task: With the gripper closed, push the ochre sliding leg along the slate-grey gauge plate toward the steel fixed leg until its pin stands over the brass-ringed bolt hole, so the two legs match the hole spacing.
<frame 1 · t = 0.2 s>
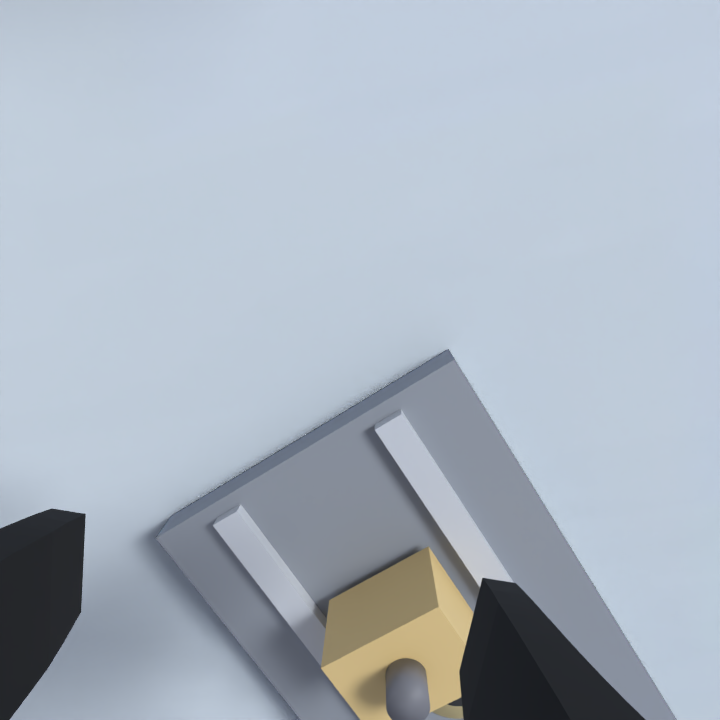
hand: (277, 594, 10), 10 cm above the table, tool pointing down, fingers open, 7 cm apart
slider: (404, 650, 17), point 4 cm above the table, slide at 0.0 cm
gauge plate: (439, 630, 21), on the table
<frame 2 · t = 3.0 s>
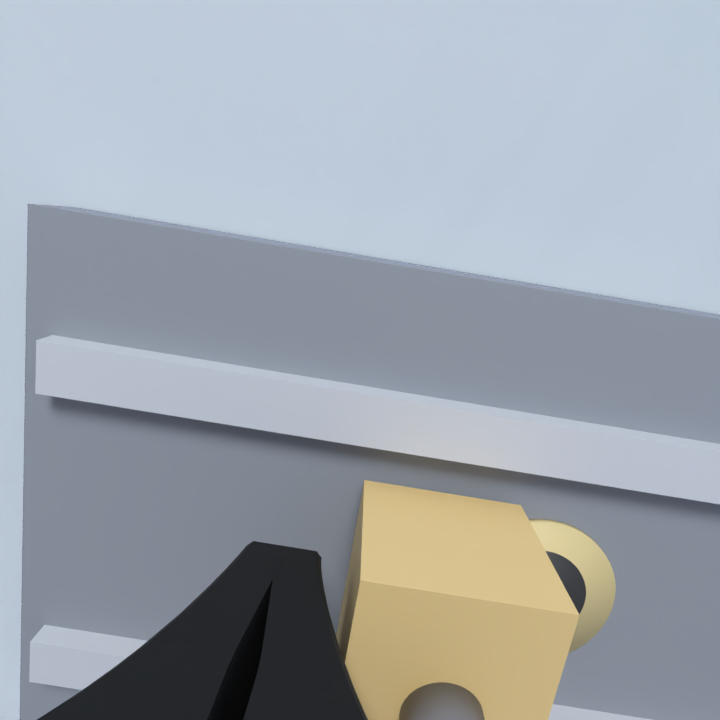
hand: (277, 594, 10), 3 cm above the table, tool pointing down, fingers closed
slider: (434, 665, 9), point 4 cm above the table, slide at 1.7 cm, touching gripper
gauge plate: (472, 540, 13), on the table
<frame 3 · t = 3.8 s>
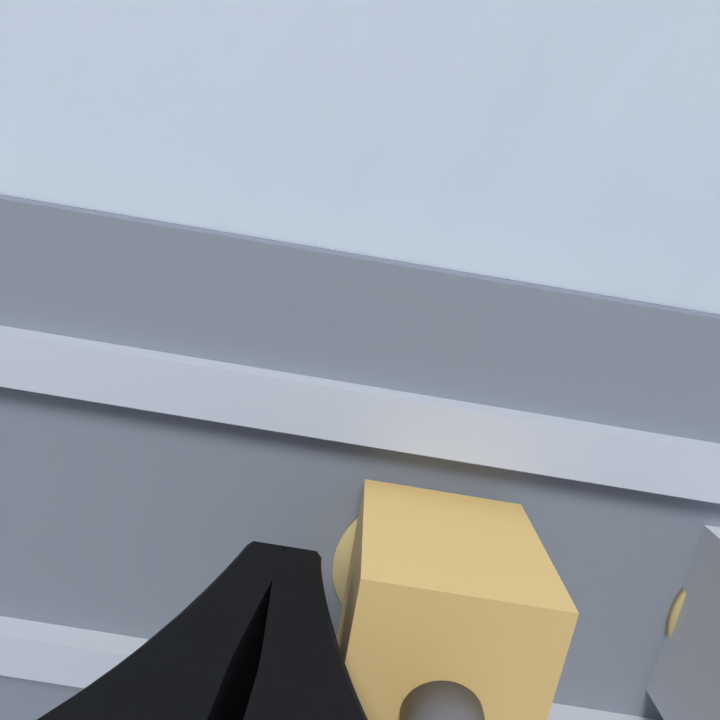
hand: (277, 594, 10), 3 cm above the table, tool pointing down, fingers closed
slider: (434, 663, 9), point 4 cm above the table, slide at 4.2 cm, touching gripper
gauge plate: (364, 522, 13), on the table
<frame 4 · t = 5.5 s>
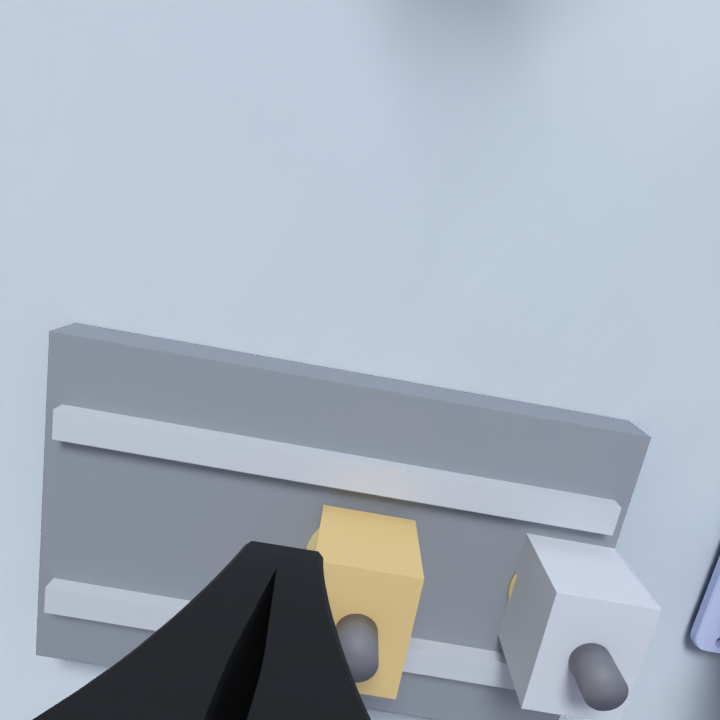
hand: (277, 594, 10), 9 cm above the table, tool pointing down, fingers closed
slider: (357, 608, 16), point 4 cm above the table, slide at 4.2 cm
gauge plate: (326, 529, 20), on the table
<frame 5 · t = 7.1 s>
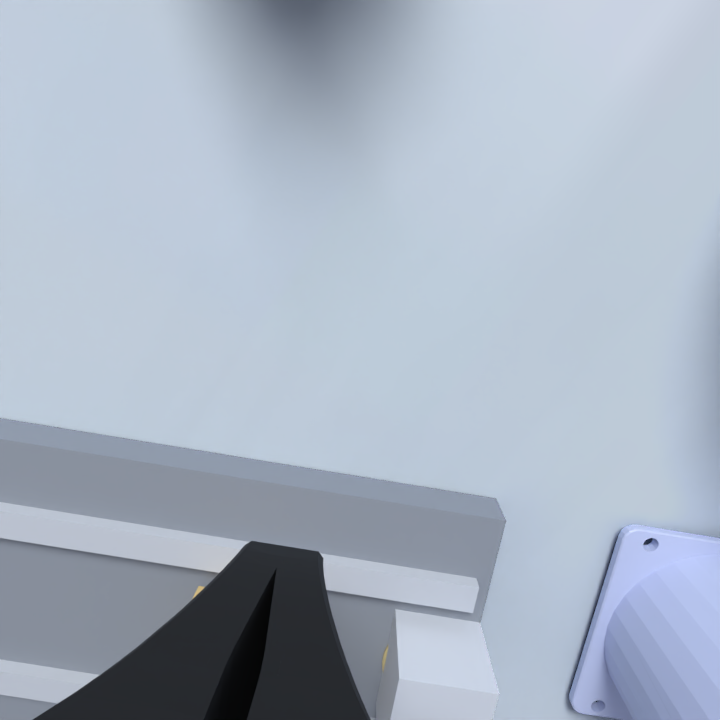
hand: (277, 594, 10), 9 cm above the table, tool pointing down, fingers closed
slider: (219, 690, 17), point 4 cm above the table, slide at 4.2 cm
gauge plate: (216, 600, 21), on the table
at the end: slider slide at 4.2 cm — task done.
